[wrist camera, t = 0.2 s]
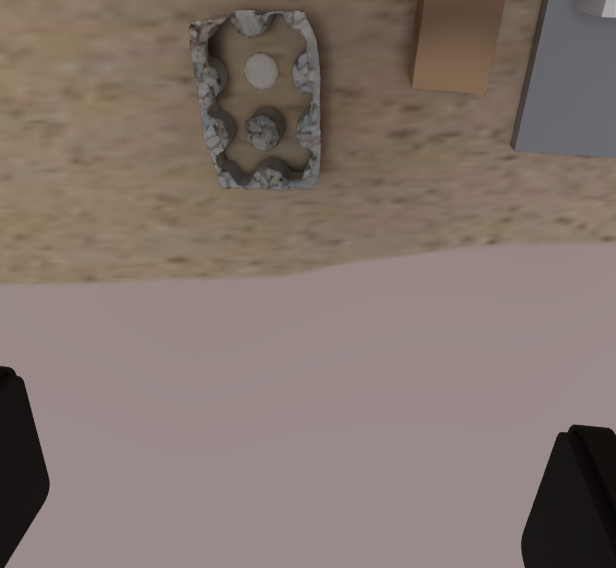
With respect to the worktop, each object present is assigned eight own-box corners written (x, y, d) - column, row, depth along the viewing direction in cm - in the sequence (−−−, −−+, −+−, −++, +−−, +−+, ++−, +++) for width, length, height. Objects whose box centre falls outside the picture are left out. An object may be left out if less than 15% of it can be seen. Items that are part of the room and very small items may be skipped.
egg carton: (201, 8, 35) (182, 13, 31) (323, 6, 34) (317, 11, 31) (218, 176, 40) (203, 196, 37) (324, 177, 39) (319, 198, 36)
